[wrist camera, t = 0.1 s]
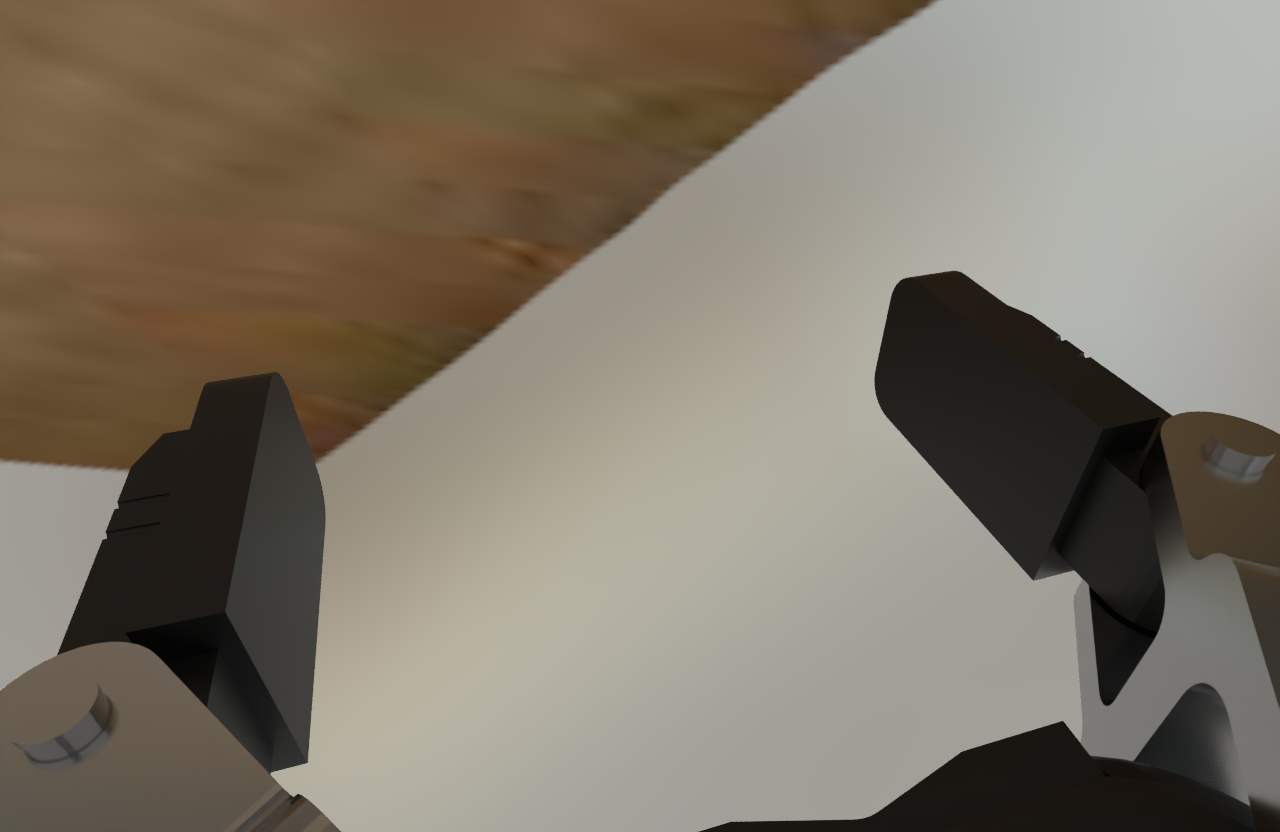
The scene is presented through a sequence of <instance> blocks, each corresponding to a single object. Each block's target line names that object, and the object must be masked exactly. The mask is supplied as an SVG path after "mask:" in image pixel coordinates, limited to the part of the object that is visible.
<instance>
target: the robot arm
mask: <svg viewBox="0 0 1280 832" xmlns="http://www.w3.org/2000/svg"><path fill="white" fill-rule="evenodd" d="M875 391H876V396H877V400H878V402H879V405H880V407H881V409H882V411H883V412H884V414H885V415H886V417H887V418H888V419H889V420H890V421H891V422H892V423H893V424H894V426H895V427H896V428H897V429H898V430H899V431H900V432H901V433H902V435H903V436H904V437H905V438H906V439H907V440H908V441H909V442H910V444H911V445H912V446H913V447H914V448H915V449H916V450H917V451H918V452H919V453H920V455H921V456H922V457H923V458H924V459H925V460H926V461H927V462H928V464H929V465H930V466H931V467H932V468H933V469H934V470H935V471H936V473H937V474H938V475H939V476H940V477H941V478H942V479H943V480H944V481H945V483H946V484H947V485H948V486H949V487H950V488H951V489H952V490H953V492H954V493H955V494H956V495H957V496H958V497H959V498H960V499H961V500H962V502H963V503H964V504H965V505H966V506H967V507H968V508H969V509H970V510H971V512H972V513H973V514H974V515H975V516H976V517H977V518H978V519H979V521H980V522H981V523H982V524H983V525H984V526H985V527H986V528H987V529H988V530H989V532H990V533H991V534H992V535H993V536H994V537H995V538H996V540H997V541H998V542H999V543H1000V544H1001V545H1002V546H1003V547H1004V548H1005V550H1006V551H1007V552H1008V553H1009V554H1010V555H1011V556H1012V557H1013V558H1014V560H1015V561H1016V562H1017V563H1018V564H1019V565H1020V566H1021V567H1022V569H1023V570H1024V571H1025V572H1026V573H1027V574H1028V575H1029V576H1030V577H1031V579H1032V580H1033V581H1034V580H1038V579H1042V578H1046V577H1050V576H1053V575H1057V574H1061V573H1065V572H1069V571H1073V570H1075V571H1076V572H1077V573H1078V574H1079V575H1080V576H1081V578H1082V581H1081V583H1080V585H1079V586H1078V589H1077V590H1076V593H1075V596H1074V612H1075V625H1076V638H1077V651H1078V664H1079V678H1080V691H1081V704H1082V718H1083V729H1082V738H1081V743H1080V742H1079V741H1078V739H1077V738H1076V737H1075V736H1074V734H1073V733H1072V732H1071V731H1070V730H1069V728H1068V727H1067V726H1066V724H1065V723H1064V722H1063V721H1061V722H1058V723H1055V724H1051V725H1048V726H1045V727H1042V728H1038V729H1035V730H1032V731H1028V732H1025V733H1022V734H1019V735H1015V736H1012V737H1009V738H1005V739H1002V740H999V741H995V742H992V743H989V744H986V745H982V746H979V747H976V748H972V749H969V750H966V751H963V752H961V753H960V754H958V755H957V756H955V757H954V758H953V759H951V760H950V761H948V762H947V763H946V764H944V765H943V766H942V767H940V768H939V769H937V770H936V771H935V772H933V773H932V774H930V775H929V776H928V777H926V778H925V779H923V780H922V781H921V782H919V783H918V784H916V785H915V786H914V787H912V788H911V789H910V790H908V791H907V792H905V793H904V794H903V795H901V796H900V797H899V798H897V799H896V800H894V801H893V802H891V803H890V804H889V805H887V806H886V807H885V808H883V809H882V810H880V811H879V812H877V813H876V814H874V815H872V816H870V817H867V818H863V819H857V820H813V821H760V822H759V821H757V822H756V821H755V822H729V823H726V824H723V825H720V826H716V827H713V828H709V829H706V830H703V831H700V832H1280V434H1278V433H1276V432H1275V431H1272V430H1270V429H1268V428H1266V427H1264V426H1261V425H1259V424H1256V423H1254V422H1251V421H1248V420H1245V419H1242V418H1238V417H1235V416H1230V415H1226V414H1220V413H1213V412H1186V413H1180V414H1177V415H1175V416H1172V415H1170V414H1169V413H1168V412H1166V411H1165V410H1163V409H1162V408H1161V407H1159V406H1158V405H1156V404H1155V403H1154V402H1152V401H1151V400H1149V399H1148V398H1147V397H1145V396H1144V395H1143V394H1141V393H1140V392H1138V391H1137V390H1135V389H1134V388H1132V387H1131V386H1130V385H1129V384H1127V383H1126V382H1124V381H1123V380H1122V379H1120V378H1118V377H1117V376H1116V375H1115V374H1113V373H1111V372H1110V371H1109V370H1108V369H1106V368H1105V367H1103V366H1102V365H1100V364H1099V363H1098V362H1096V361H1095V360H1094V359H1092V358H1091V357H1089V358H1085V357H1084V352H1082V351H1081V350H1080V349H1078V348H1077V347H1075V346H1074V345H1073V344H1071V343H1070V342H1068V341H1067V340H1064V341H1061V339H1060V335H1058V334H1057V333H1056V332H1054V331H1053V330H1051V329H1050V328H1049V327H1047V326H1046V325H1045V324H1043V323H1042V322H1040V321H1039V320H1037V319H1036V318H1035V317H1033V316H1032V315H1030V314H1027V313H1025V312H1022V311H1020V310H1018V309H1015V308H1013V307H1010V306H1008V305H1006V304H1005V303H1003V302H1002V301H1001V300H999V299H998V298H996V297H995V296H994V295H992V294H991V293H989V292H988V291H987V290H985V289H984V288H983V287H981V286H980V285H978V284H977V283H976V282H974V281H973V280H972V279H970V278H969V277H967V276H966V275H965V274H963V273H961V272H958V271H949V272H942V273H936V274H929V275H922V276H916V277H909V278H905V279H902V280H901V281H900V282H899V283H898V284H897V285H896V287H895V288H894V291H893V293H892V296H891V301H890V305H889V310H888V314H887V319H886V324H885V328H884V333H883V338H882V343H881V347H880V353H879V357H878V361H877V366H876V372H875ZM118 505H119V509H115V510H114V512H113V515H112V517H111V520H110V522H109V525H108V527H107V530H106V534H107V539H104V540H102V543H101V545H100V548H99V550H98V553H97V555H96V558H95V561H94V563H93V565H92V568H91V570H90V573H89V576H88V578H87V581H86V583H85V586H84V588H83V591H82V593H81V596H80V599H79V601H78V604H77V606H76V609H75V611H74V614H73V616H72V619H71V621H70V624H69V626H68V629H67V631H66V634H65V637H64V639H63V642H62V644H61V647H60V649H59V652H58V654H57V656H55V657H53V658H51V659H49V660H47V661H44V662H42V663H41V664H39V665H37V666H36V667H34V668H32V669H30V670H28V671H27V672H25V673H24V674H22V675H21V676H20V677H18V678H17V679H15V680H14V681H12V682H11V683H9V684H8V685H7V686H6V687H5V688H3V689H2V690H1V691H0V832H341V831H340V830H339V829H338V828H337V827H336V826H335V825H334V824H333V823H332V822H331V821H330V820H329V819H328V818H327V817H326V816H325V815H324V814H323V813H322V812H321V811H320V810H319V809H318V808H317V807H316V806H315V805H313V804H312V803H311V802H310V801H309V800H308V799H306V798H305V797H303V796H302V795H300V794H297V795H296V796H295V797H292V796H291V795H290V794H289V793H288V792H286V791H285V790H284V789H283V788H282V787H281V786H280V785H279V784H278V783H277V781H276V780H275V779H274V778H273V777H272V776H271V775H270V773H271V772H274V771H278V770H282V769H286V768H289V767H293V766H297V765H301V764H305V763H307V762H308V749H309V737H310V736H309V735H310V723H311V710H312V696H313V683H314V669H315V656H316V643H317V629H318V616H319V615H318V614H319V602H320V589H321V574H322V562H323V548H324V534H325V504H324V496H323V491H322V486H321V481H320V478H319V474H318V471H317V468H316V465H315V463H314V460H313V457H312V454H311V452H310V449H309V446H308V443H307V441H306V438H305V435H304V432H303V430H302V427H301V424H300V421H299V419H298V416H297V413H296V410H295V408H294V405H293V402H292V399H291V397H290V394H289V391H288V389H287V386H286V384H285V382H284V380H283V378H282V377H281V376H280V374H278V373H277V372H274V373H267V374H260V375H254V376H247V377H241V378H234V379H227V380H221V381H214V382H208V383H206V384H205V386H204V388H203V390H202V393H201V396H200V399H199V402H198V405H197V409H196V412H195V415H194V418H193V421H192V424H191V427H190V429H189V430H183V431H177V432H171V433H165V434H163V435H162V436H161V437H160V438H159V439H158V440H157V441H156V442H155V443H154V444H153V445H152V446H151V447H150V448H149V449H148V450H147V451H146V452H145V453H144V454H143V455H142V456H141V457H140V458H139V459H138V461H137V462H136V463H135V464H134V465H133V466H132V467H131V469H130V471H129V474H128V477H127V479H126V482H125V484H124V487H123V489H122V492H121V494H120V497H119V499H118Z"/></svg>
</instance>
